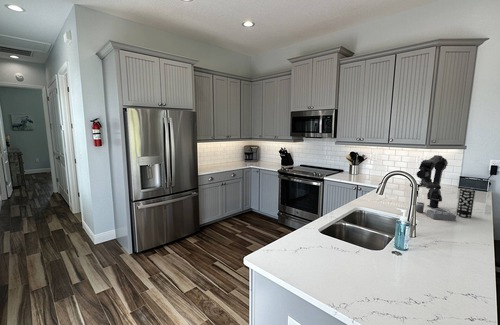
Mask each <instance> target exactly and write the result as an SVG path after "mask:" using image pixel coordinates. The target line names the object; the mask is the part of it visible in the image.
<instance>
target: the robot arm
mask: <svg viewBox="0 0 500 325" xmlns="http://www.w3.org/2000/svg"><path fill="white" fill-rule="evenodd" d="M448 164H449V163H448V160H447V159H446V158H444V157H443V156H442V155H437V154H436V155H433V156H432V157H431V158H429V159H423V160H422V161H421V162H420V165H419V167H418V171H417V172H416V177H417V178H418V179H420V182H419V183H417V185H418V191H417V196H416V197H417V198H418V196H419V190H420V188H426V189H428V191H427V193H426V199H427V200H429V204H427V207H429V208H430V209H436V208H438V209H441V207H439V203H441V202H443V196H442V192H441V189H442V187H441V181H442V178H443V177H442V175H443V171H444V170H446V169H447V167H448ZM433 170H434V175H433V179H432V172H433ZM409 187H411V188H412V186H411V183H410V184H409Z"/></svg>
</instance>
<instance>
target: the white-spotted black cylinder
mask: <svg viewBox="0 0 500 325" xmlns="http://www.w3.org/2000/svg"><path fill="white" fill-rule="evenodd" d="M475 195H476V190H474V189H469V188H459V194H458V201H457V208H456V214H455V215H456V217H458V218H462V219H463V218H464V219H471V218H472V215H473V211H474V210H473V209H474V203H475V202H474V201H475V198H476V197H475Z"/></svg>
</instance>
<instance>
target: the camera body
mask: <svg viewBox="0 0 500 325" xmlns="http://www.w3.org/2000/svg"><path fill="white" fill-rule="evenodd" d="M426 216H427V217H429V218H431V219H432V220H435V221H436V220H438V221H448V222H449V221H451V222H456V221H457V215H456V214H455V213H453V212H451V211H449V210H447V209H444V208H440V209H438V208H432V209H426Z"/></svg>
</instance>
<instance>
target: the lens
mask: <svg viewBox="0 0 500 325" xmlns="http://www.w3.org/2000/svg"><path fill="white" fill-rule="evenodd" d="M424 208H425V203H424V202H421V201H417V203H415V210H416V211H417V212H416V211H415V212H416V213H417V214H418V213H419V214H423V213H424Z"/></svg>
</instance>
